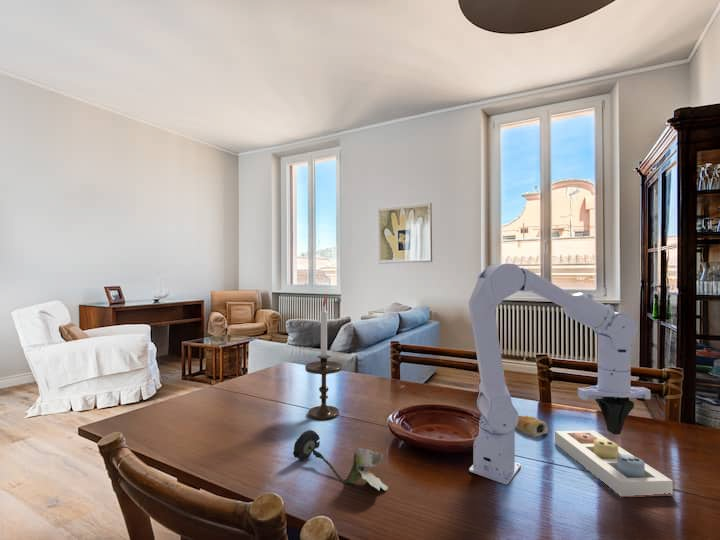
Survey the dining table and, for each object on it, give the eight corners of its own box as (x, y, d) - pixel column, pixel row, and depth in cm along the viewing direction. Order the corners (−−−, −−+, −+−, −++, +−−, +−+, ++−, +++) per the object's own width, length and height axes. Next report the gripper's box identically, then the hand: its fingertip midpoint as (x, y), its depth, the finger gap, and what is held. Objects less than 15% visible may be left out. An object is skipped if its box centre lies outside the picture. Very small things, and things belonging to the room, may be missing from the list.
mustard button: (623, 462, 78) (623, 447, 78) (602, 462, 78) (602, 447, 78) (608, 452, 83) (608, 437, 83) (589, 452, 83) (589, 438, 83)
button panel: (672, 496, 70) (672, 480, 70) (621, 497, 69) (621, 481, 69) (594, 442, 92) (594, 430, 92) (554, 443, 91) (554, 431, 91)
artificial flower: (318, 455, 88) (330, 414, 89) (389, 510, 72) (403, 458, 73) (288, 458, 82) (301, 413, 83) (359, 519, 66) (374, 462, 67)
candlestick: (344, 408, 114) (344, 295, 114) (338, 422, 104) (339, 297, 104) (310, 406, 115) (310, 294, 116) (301, 420, 105) (301, 297, 105)
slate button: (650, 481, 71) (650, 464, 71) (628, 481, 71) (628, 464, 71) (632, 468, 76) (632, 453, 76) (611, 469, 76) (611, 453, 76)
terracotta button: (600, 454, 85) (600, 440, 85) (581, 454, 85) (581, 440, 85) (587, 445, 90) (587, 431, 90) (570, 445, 90) (570, 432, 90)
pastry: (504, 425, 102) (504, 411, 102) (521, 421, 105) (521, 407, 105) (533, 439, 94) (533, 424, 94) (551, 434, 97) (551, 419, 97)
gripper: (632, 363, 82) (632, 423, 82) (568, 363, 82) (569, 425, 82) (659, 371, 75) (659, 438, 75) (590, 372, 75) (590, 439, 75)
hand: (613, 432), depth 78 cm, fingers closed
